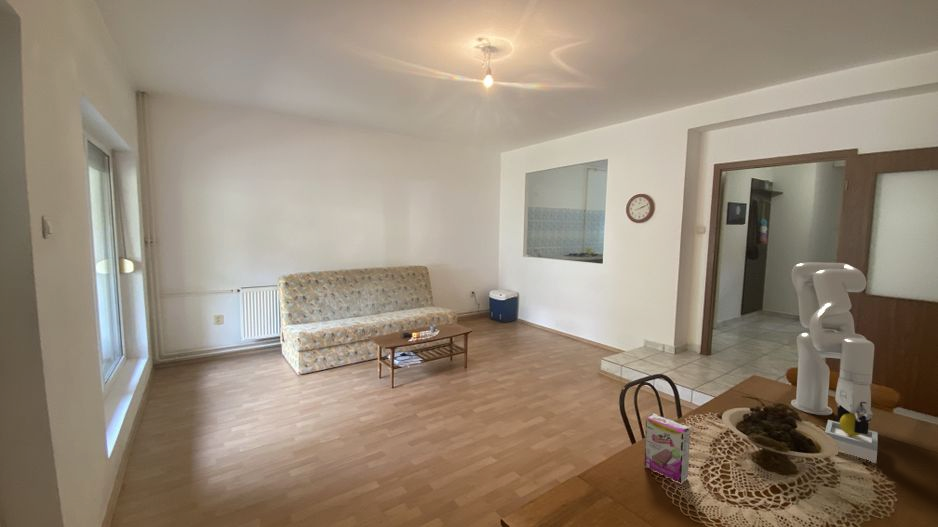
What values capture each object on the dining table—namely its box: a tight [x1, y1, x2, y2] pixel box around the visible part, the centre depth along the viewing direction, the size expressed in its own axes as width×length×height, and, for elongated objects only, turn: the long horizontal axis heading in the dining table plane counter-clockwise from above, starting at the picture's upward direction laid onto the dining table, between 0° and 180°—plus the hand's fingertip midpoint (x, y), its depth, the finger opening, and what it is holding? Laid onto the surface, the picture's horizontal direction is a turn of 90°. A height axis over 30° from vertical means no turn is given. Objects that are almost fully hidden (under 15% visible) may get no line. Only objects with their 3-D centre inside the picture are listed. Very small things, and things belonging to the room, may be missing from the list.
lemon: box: [839, 412, 861, 437], centre depth 127 cm, size 6×6×8 cm
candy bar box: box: [643, 413, 691, 483], centre depth 114 cm, size 11×5×16 cm, turn 37°
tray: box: [824, 419, 879, 464], centre depth 127 cm, size 12×12×6 cm
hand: (851, 425), depth 127 cm, fingers open, 9 cm apart
